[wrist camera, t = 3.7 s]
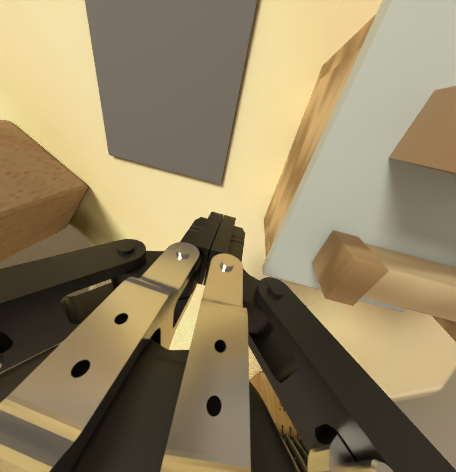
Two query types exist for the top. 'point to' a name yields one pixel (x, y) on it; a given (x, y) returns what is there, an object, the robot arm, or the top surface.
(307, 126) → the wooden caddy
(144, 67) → the mat
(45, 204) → the wooden block
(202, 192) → the top surface
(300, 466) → the knife block
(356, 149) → the lid
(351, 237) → the wooden peg
